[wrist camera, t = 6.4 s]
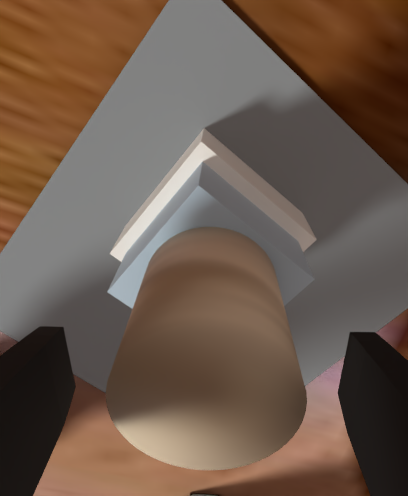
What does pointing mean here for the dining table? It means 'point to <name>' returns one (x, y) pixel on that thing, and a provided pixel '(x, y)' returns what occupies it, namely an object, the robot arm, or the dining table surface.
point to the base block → (230, 171)
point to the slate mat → (164, 158)
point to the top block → (213, 215)
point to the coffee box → (201, 495)
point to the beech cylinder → (207, 356)
